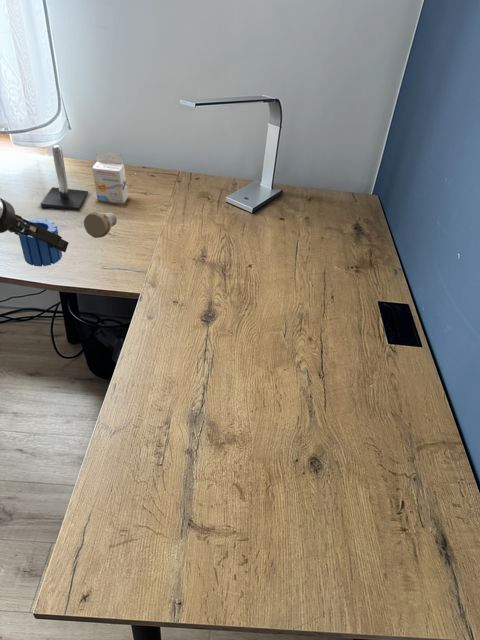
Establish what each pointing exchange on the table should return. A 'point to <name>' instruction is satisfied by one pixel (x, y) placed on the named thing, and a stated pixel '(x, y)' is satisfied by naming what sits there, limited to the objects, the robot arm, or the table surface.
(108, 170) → the ink box
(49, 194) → the stand
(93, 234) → the mug
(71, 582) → the table surface
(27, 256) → the blue ribbed pencil cup
